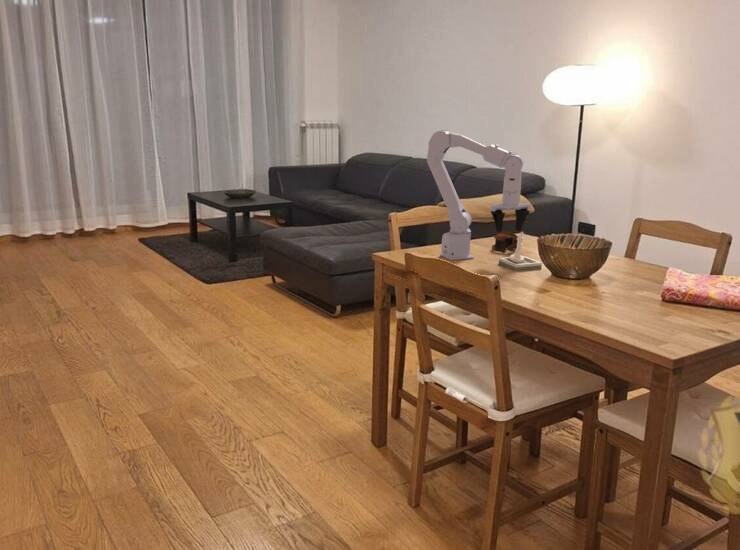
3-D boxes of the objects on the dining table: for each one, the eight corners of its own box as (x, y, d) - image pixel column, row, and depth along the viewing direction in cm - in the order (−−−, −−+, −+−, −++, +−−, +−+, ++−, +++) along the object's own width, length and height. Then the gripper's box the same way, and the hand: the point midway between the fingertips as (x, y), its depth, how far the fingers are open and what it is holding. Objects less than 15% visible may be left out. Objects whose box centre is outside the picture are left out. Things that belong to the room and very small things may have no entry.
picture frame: (515, 271, 212) (515, 265, 211) (498, 263, 220) (499, 258, 220) (541, 268, 215) (541, 262, 215) (523, 261, 224) (524, 255, 224)
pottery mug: (484, 250, 242) (491, 230, 243) (504, 260, 245) (510, 239, 247) (504, 249, 231) (511, 227, 232) (525, 259, 235) (531, 237, 236)
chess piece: (518, 263, 217) (523, 235, 212) (506, 258, 220) (511, 230, 215) (527, 260, 220) (533, 233, 215) (515, 255, 223) (520, 228, 218)
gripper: (499, 193, 212) (496, 234, 216) (537, 192, 217) (533, 232, 221) (488, 190, 219) (485, 230, 222) (525, 189, 224) (521, 228, 227)
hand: (508, 231), depth 222 cm, fingers open, 7 cm apart
